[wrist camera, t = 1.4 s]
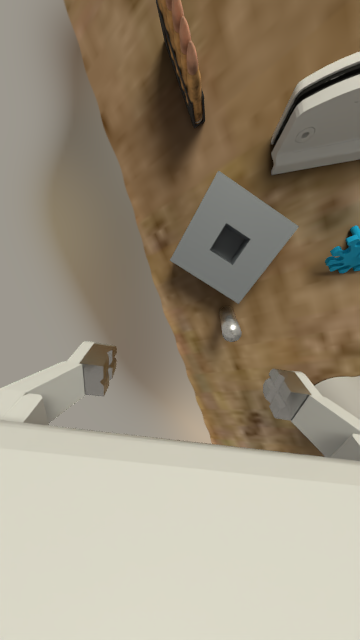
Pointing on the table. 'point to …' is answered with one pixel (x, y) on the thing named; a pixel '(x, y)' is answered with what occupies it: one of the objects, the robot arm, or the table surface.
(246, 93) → the table surface
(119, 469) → the robot arm
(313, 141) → the hinge
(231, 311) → the steel pin
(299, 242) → the table surface
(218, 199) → the pin block
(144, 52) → the table surface
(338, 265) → the gear
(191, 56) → the ammunition clip
